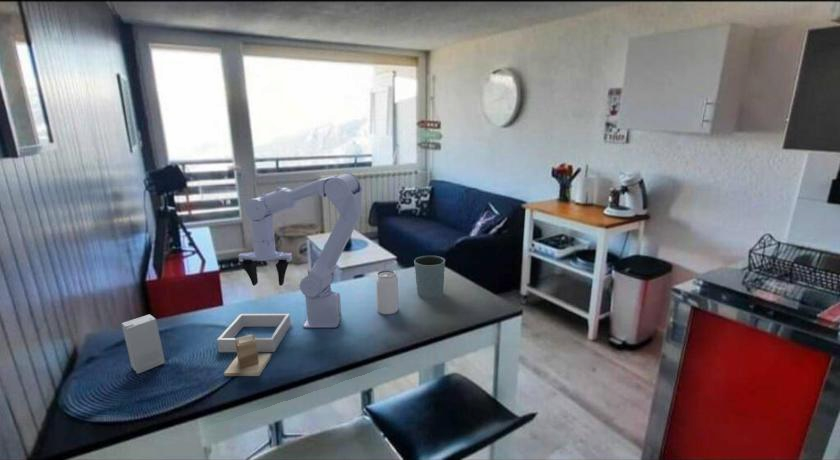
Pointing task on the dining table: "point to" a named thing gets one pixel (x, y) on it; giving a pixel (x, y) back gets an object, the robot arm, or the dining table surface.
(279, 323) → the white square frame
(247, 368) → the birch pad
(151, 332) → the skincare box
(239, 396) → the dining table surface
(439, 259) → the grey-green cup
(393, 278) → the can
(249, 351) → the oak block
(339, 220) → the robot arm
